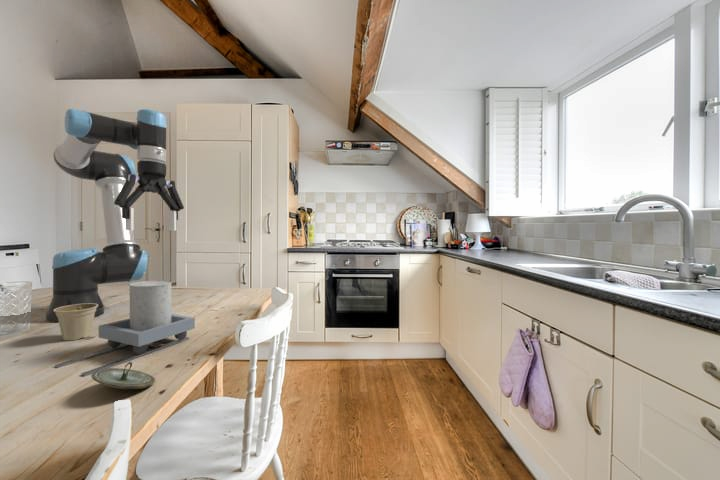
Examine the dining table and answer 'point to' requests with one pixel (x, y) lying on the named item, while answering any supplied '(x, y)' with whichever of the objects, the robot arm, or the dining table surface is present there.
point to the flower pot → (76, 320)
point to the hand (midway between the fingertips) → (152, 230)
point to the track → (154, 344)
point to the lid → (123, 378)
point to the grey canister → (150, 304)
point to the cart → (144, 332)
